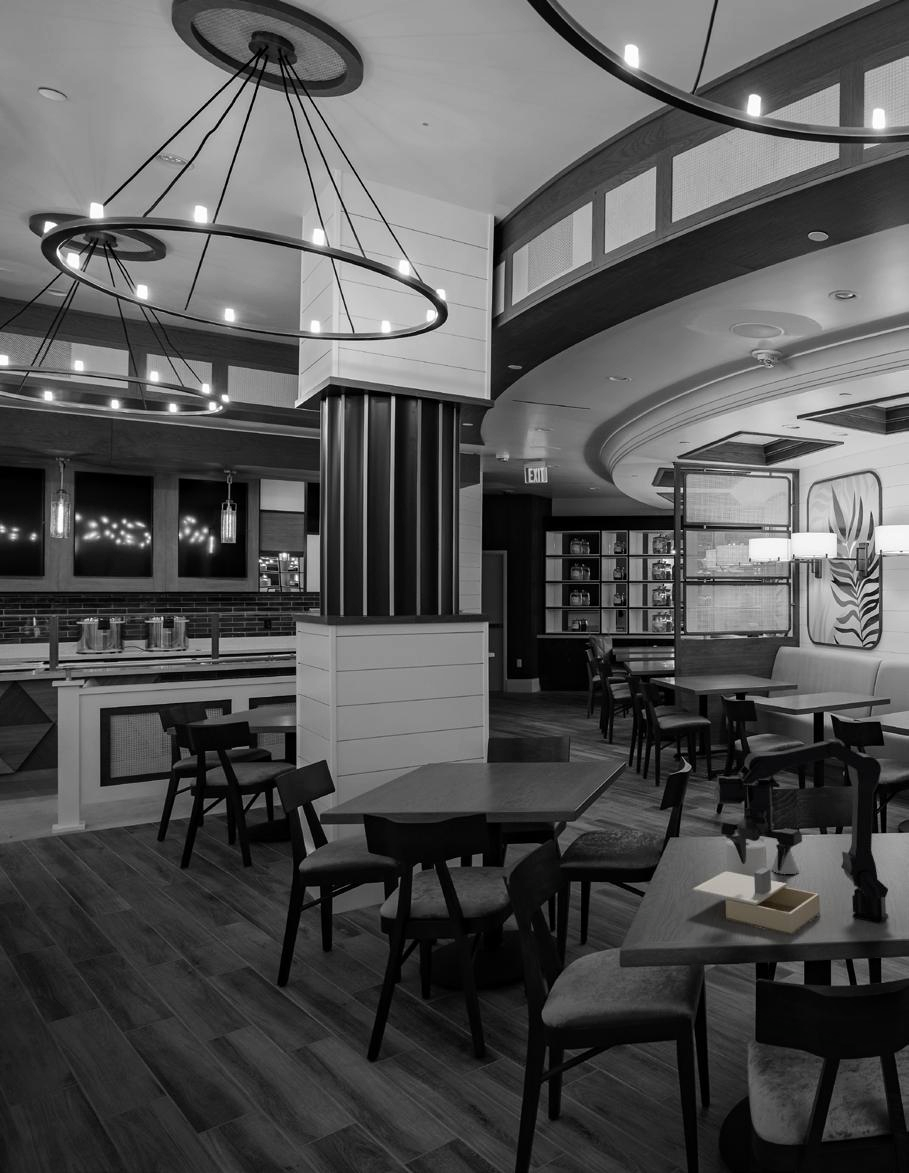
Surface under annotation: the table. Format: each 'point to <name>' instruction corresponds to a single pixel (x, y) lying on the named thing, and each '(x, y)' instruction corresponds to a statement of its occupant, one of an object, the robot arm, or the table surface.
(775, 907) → the carton
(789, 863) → the flask
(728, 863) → the toilet tissue
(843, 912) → the table surface
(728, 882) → the carton lid
